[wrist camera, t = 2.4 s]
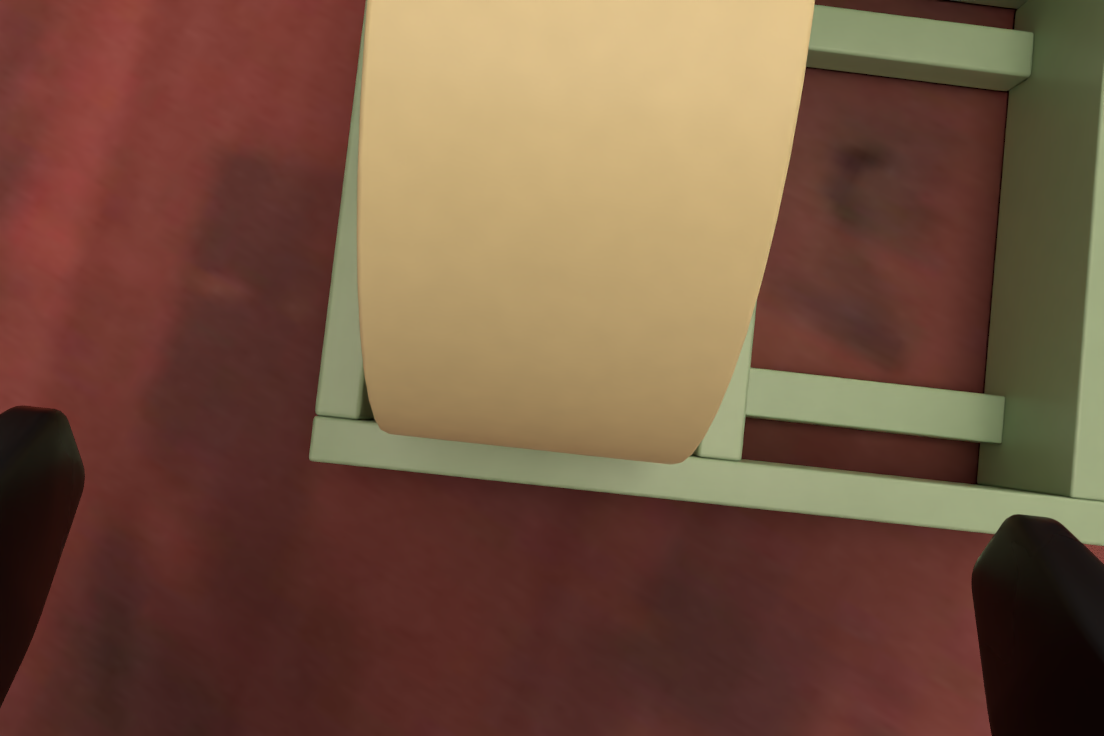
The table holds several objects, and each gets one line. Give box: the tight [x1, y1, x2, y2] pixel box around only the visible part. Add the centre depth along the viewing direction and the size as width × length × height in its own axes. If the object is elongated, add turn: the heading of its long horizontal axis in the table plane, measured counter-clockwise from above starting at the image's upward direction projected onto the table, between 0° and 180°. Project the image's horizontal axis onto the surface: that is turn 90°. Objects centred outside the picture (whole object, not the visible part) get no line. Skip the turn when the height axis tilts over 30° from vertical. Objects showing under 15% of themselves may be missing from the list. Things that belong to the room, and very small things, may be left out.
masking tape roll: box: [357, 0, 815, 465], centre depth 15 cm, size 11×5×11 cm, turn 174°
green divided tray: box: [309, 0, 1104, 546], centre depth 19 cm, size 12×14×4 cm
